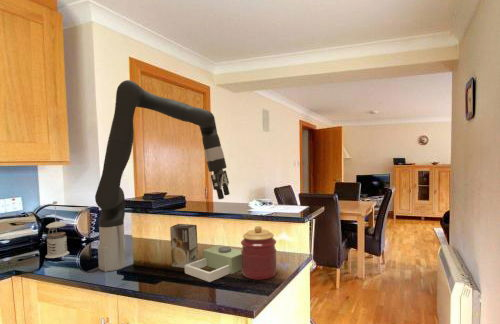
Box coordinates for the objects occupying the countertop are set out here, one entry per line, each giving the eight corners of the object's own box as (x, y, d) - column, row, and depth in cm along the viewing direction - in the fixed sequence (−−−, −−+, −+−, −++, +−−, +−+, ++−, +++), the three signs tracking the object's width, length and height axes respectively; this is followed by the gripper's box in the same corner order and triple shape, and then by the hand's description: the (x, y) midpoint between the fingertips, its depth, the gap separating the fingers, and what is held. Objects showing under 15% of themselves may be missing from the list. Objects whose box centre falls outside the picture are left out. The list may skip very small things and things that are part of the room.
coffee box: (199, 263, 129) (197, 224, 129) (190, 269, 123) (189, 228, 123) (180, 261, 132) (178, 223, 132) (170, 266, 127) (169, 226, 126)
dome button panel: (211, 282, 109) (210, 262, 109) (183, 272, 120) (182, 254, 120) (248, 266, 123) (247, 249, 123) (219, 258, 134) (219, 242, 134)
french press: (50, 259, 141) (47, 203, 140) (39, 255, 148) (37, 201, 147) (73, 253, 149) (70, 200, 148) (62, 249, 156) (60, 198, 155)
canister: (279, 268, 121) (278, 222, 121) (274, 281, 109) (272, 230, 108) (246, 266, 124) (245, 221, 124) (237, 279, 112) (236, 229, 111)
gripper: (212, 159, 139) (220, 195, 139) (200, 162, 125) (210, 202, 125) (228, 155, 137) (237, 192, 138) (218, 158, 123) (228, 198, 124)
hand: (224, 196), depth 131 cm, fingers open, 8 cm apart
